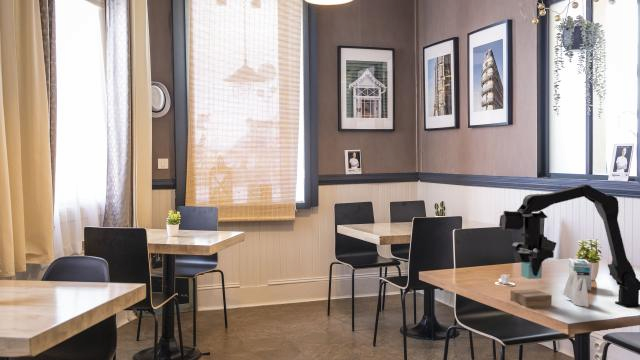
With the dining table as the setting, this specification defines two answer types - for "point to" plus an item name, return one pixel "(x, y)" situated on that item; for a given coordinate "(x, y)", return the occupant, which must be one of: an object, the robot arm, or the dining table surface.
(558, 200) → the robot arm
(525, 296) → the walnut block
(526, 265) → the teal cube
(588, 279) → the light bulb box
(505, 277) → the teacup and saucer
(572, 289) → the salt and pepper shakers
